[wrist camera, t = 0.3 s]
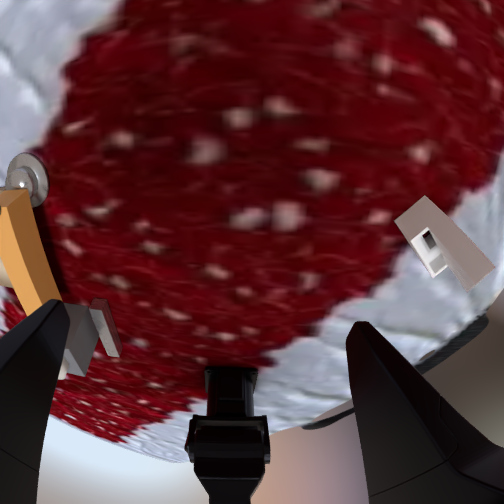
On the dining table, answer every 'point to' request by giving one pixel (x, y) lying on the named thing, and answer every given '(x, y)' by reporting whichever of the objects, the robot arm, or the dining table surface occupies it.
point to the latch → (24, 252)
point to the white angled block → (443, 244)
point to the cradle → (37, 182)
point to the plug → (79, 341)
